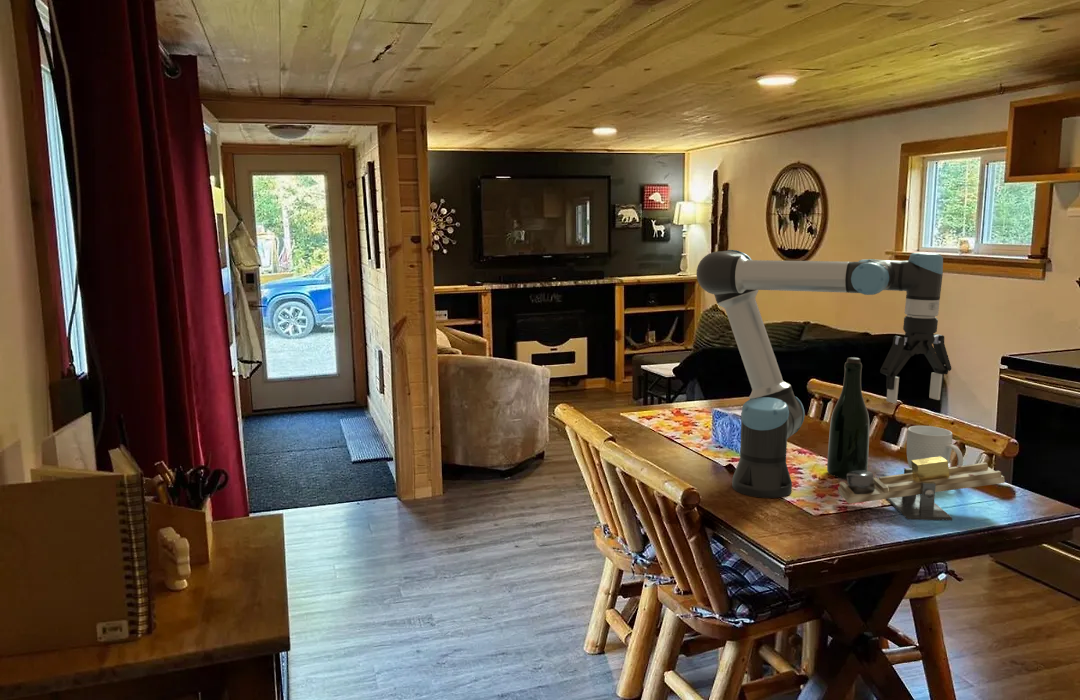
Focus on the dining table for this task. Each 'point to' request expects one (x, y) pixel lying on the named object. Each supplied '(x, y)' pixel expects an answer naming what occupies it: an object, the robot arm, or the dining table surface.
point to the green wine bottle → (849, 426)
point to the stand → (920, 503)
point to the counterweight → (861, 481)
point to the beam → (907, 486)
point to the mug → (930, 444)
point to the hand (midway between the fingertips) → (913, 400)
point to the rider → (930, 469)
